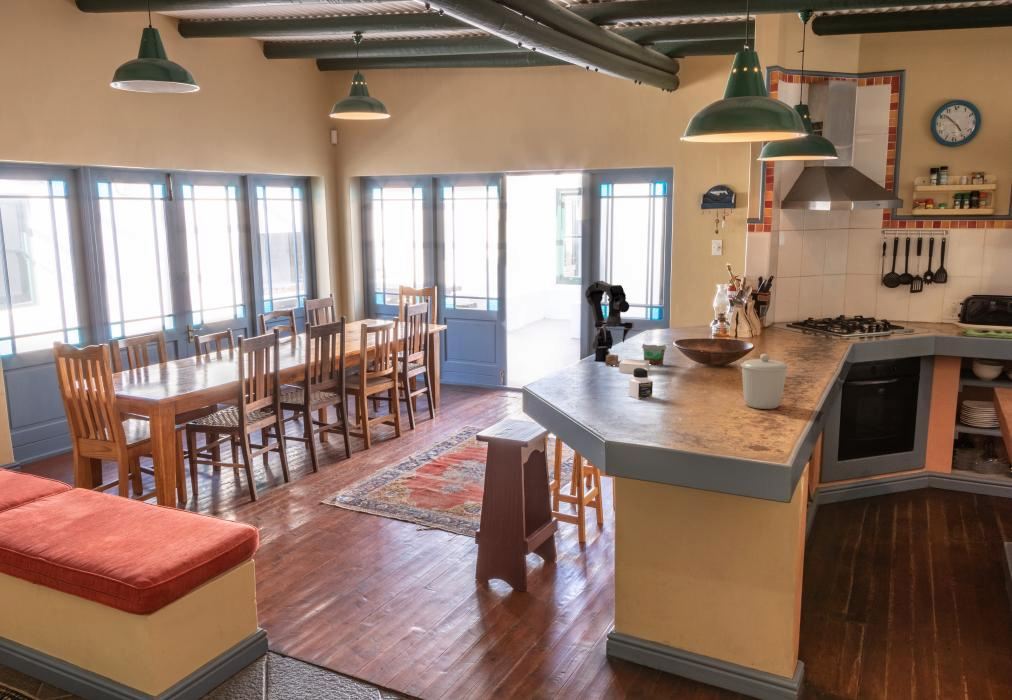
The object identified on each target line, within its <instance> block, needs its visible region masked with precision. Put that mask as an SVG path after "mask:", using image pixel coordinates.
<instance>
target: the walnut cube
mask: <svg viewBox="0 0 1012 700" xmlns="http://www.w3.org/2000/svg"><path fill="white" fill-rule="evenodd" d="M617 364H618V365H619V354H608V355H607V356H606V362H605V366H606V365H615V366H614V367H617V366H618V365H617ZM616 365H617V366H616Z"/></svg>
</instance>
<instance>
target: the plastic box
mask: <svg viewBox="0 0 1012 700" xmlns="http://www.w3.org/2000/svg"><path fill="white" fill-rule="evenodd" d="M618 368H619V369H618V373H619V372H624V373H623V374H628V373H634V369H636V368H646V369H648V370H649V371H650V365H649V361H648V360H644V359H631V358H630V359H628V358H624V359H623V360H622V361H620V362H618Z"/></svg>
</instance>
